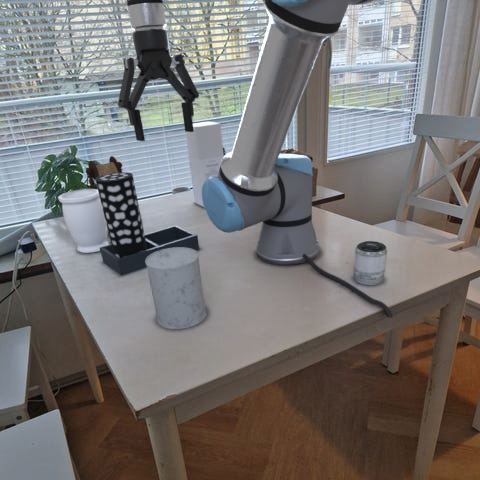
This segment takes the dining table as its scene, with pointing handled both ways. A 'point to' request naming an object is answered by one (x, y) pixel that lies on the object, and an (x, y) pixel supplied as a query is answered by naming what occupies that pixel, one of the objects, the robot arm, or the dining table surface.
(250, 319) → the dining table surface
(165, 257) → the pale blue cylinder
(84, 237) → the jar
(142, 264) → the divided tray
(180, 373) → the dining table surface
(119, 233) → the white-spotted black cylinder
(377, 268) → the camera lens
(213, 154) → the tall white carton
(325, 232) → the dining table surface
